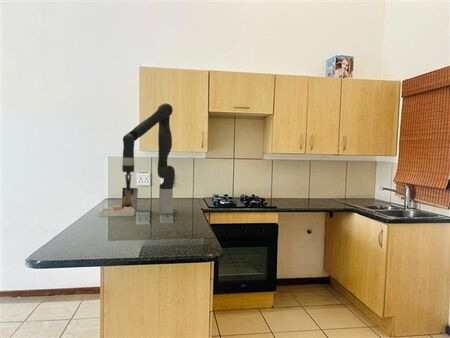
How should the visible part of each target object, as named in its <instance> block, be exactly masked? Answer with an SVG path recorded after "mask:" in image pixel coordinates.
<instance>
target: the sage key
mask: <svg viewBox="0 0 450 338" xmlns="http://www.w3.org/2000/svg"><path fill="white" fill-rule="evenodd" d="M101 209H102V211H111V209H112V207H111V206H110V207H102V208H101Z"/></svg>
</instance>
